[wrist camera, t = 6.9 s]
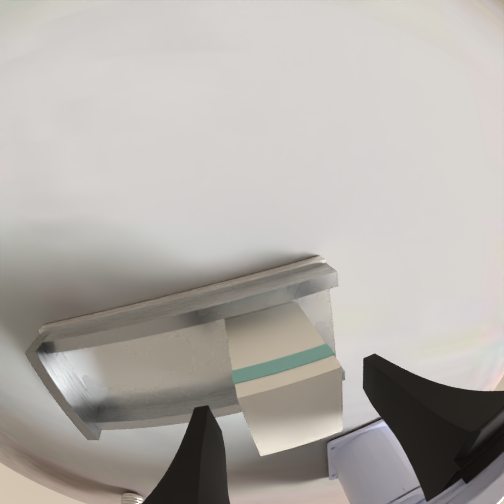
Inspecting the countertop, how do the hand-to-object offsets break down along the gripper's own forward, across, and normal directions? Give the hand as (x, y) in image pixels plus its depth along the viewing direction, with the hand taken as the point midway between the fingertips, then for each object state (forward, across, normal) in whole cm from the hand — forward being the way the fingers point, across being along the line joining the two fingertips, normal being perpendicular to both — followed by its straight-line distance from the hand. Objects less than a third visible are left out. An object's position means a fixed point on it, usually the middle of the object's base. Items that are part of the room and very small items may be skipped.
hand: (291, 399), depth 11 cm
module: (+5, 0, 0) cm, 5 cm away
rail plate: (+6, +5, 0) cm, 8 cm away
